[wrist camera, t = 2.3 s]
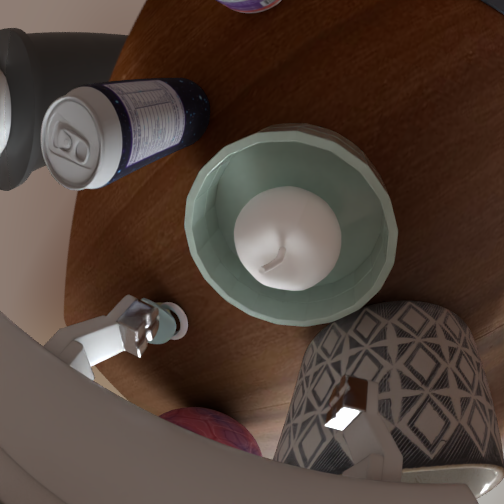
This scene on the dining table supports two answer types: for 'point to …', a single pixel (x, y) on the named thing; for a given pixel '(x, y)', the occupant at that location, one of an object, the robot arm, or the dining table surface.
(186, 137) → the beverage can
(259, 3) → the pill bottle
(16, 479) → the robot arm
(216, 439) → the decorative sphere
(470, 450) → the planter
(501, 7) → the mat
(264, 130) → the fruit bowl
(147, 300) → the pacifier
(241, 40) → the dining table surface
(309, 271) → the plain white apple
